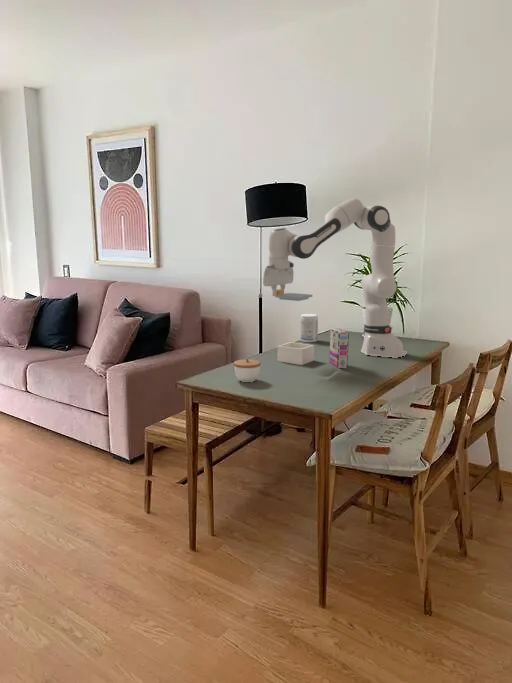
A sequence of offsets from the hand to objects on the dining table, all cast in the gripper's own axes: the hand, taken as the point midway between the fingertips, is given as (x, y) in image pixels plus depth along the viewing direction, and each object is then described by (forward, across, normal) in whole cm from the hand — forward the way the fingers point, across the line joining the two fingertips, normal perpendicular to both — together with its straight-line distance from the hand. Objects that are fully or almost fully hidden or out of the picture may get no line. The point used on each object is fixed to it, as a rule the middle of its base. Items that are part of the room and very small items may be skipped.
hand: (278, 294), depth 246 cm
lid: (+2, 0, -7) cm, 7 cm away
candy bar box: (+31, +4, -30) cm, 43 cm away
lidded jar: (+31, -39, -10) cm, 51 cm away
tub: (+31, -1, -10) cm, 32 cm away
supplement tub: (+31, +46, +10) cm, 57 cm away
